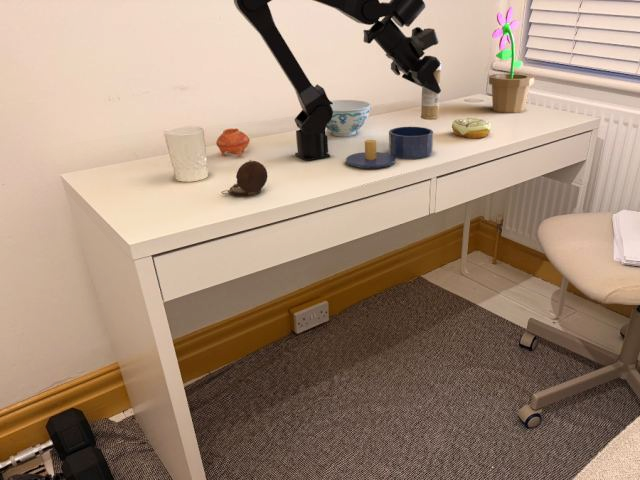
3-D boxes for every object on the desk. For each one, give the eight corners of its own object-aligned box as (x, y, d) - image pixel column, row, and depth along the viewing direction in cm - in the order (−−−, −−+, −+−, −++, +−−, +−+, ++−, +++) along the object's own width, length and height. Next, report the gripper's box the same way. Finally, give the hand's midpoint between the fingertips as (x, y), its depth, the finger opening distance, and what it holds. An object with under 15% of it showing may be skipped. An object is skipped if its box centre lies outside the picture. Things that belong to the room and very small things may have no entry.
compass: (253, 185, 114) (248, 150, 111) (270, 195, 109) (266, 158, 105) (216, 193, 110) (210, 156, 107) (232, 204, 105) (226, 166, 101)
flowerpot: (505, 103, 191) (514, 6, 177) (539, 110, 181) (552, 7, 167) (477, 109, 183) (484, 7, 169) (511, 116, 173) (522, 8, 159)
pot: (259, 153, 135) (250, 127, 131) (231, 166, 132) (221, 140, 127) (244, 146, 140) (235, 120, 136) (217, 158, 137) (207, 133, 133)
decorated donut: (460, 140, 146) (461, 126, 145) (445, 131, 155) (446, 117, 154) (496, 137, 149) (498, 123, 147) (479, 128, 158) (480, 115, 156)
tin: (405, 161, 129) (405, 138, 127) (381, 152, 137) (380, 130, 134) (440, 154, 134) (441, 132, 132) (415, 145, 142) (415, 124, 139)
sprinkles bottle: (429, 116, 142) (432, 59, 135) (442, 119, 139) (445, 61, 132) (416, 118, 139) (418, 60, 133) (428, 121, 136) (431, 62, 130)
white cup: (172, 184, 115) (162, 136, 111) (173, 173, 122) (164, 127, 117) (211, 181, 117) (203, 133, 112) (210, 170, 124) (203, 125, 119)
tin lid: (362, 173, 121) (362, 150, 119) (337, 161, 130) (336, 139, 127) (405, 164, 127) (405, 142, 124) (378, 154, 135) (377, 132, 133)
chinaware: (331, 142, 145) (330, 112, 141) (308, 131, 156) (306, 103, 153) (381, 135, 152) (380, 106, 148) (355, 125, 163) (354, 98, 159)
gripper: (434, 17, 119) (476, 70, 127) (403, 13, 134) (442, 61, 143) (399, 57, 120) (442, 107, 129) (372, 49, 136) (413, 94, 144)
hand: (435, 90), depth 136 cm, fingers closed on sprinkles bottle, 4 cm apart
